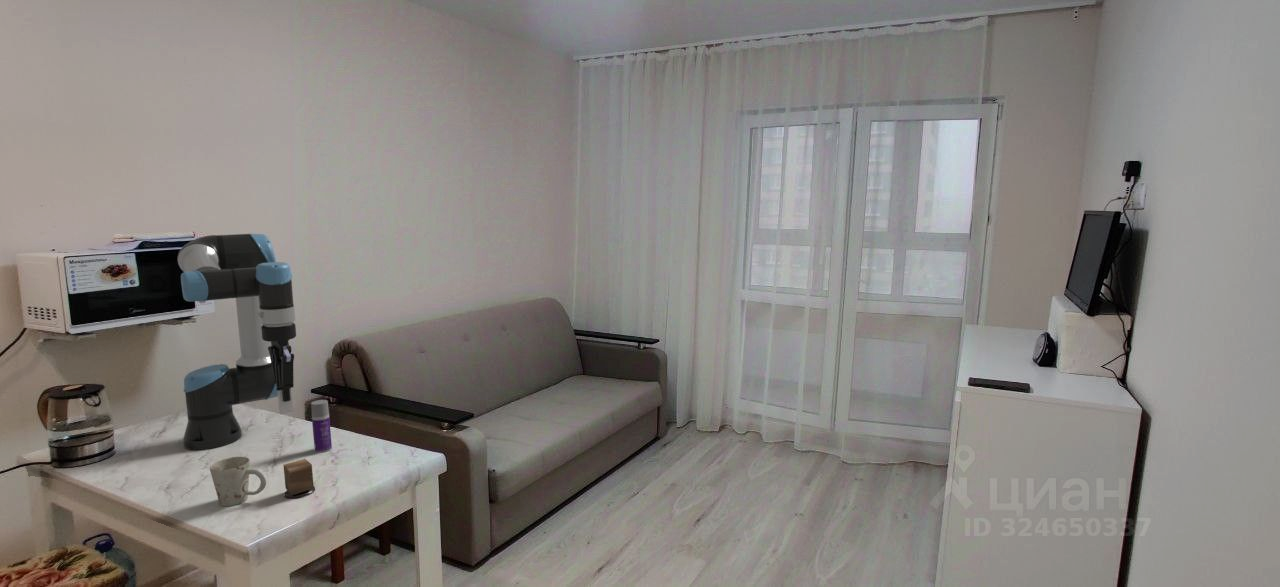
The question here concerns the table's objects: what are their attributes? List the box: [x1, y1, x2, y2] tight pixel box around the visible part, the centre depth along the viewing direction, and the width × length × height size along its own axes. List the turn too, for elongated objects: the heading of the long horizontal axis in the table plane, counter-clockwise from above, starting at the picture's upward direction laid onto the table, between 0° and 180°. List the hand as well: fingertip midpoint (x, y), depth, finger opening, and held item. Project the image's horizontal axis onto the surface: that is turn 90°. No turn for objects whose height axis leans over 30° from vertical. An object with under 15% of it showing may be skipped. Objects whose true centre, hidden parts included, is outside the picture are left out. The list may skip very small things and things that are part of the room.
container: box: [310, 399, 333, 453], centre depth 187 cm, size 5×5×15 cm
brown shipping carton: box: [283, 458, 315, 495], centre depth 160 cm, size 5×5×7 cm
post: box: [284, 486, 316, 499], centre depth 160 cm, size 7×7×7 cm
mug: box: [209, 456, 267, 507], centre depth 156 cm, size 8×13×10 cm, turn 95°
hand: (286, 412), depth 161 cm, fingers closed
